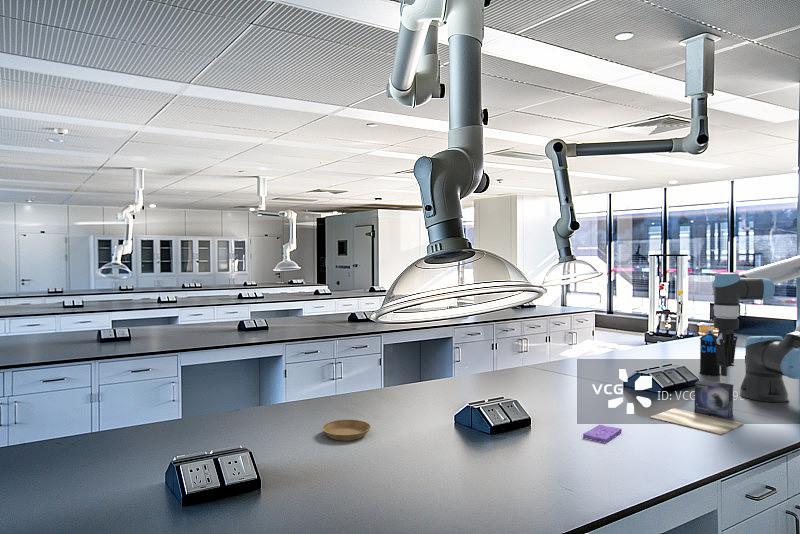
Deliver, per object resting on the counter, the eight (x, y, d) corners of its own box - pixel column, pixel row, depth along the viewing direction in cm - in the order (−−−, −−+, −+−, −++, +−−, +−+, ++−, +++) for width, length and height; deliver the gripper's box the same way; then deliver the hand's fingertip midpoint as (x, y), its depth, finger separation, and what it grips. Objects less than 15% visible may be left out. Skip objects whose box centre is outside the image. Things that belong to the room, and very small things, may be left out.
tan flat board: (674, 409, 194) (674, 408, 194) (743, 424, 176) (743, 423, 176) (650, 417, 184) (650, 416, 184) (721, 435, 167) (721, 433, 167)
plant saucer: (367, 426, 178) (367, 418, 178) (373, 441, 164) (373, 433, 164) (321, 429, 176) (321, 420, 176) (323, 445, 161) (322, 436, 161)
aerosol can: (700, 371, 253) (701, 327, 253) (721, 373, 248) (722, 328, 248) (698, 374, 247) (698, 329, 246) (719, 376, 242) (719, 331, 241)
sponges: (582, 439, 165) (582, 433, 165) (599, 429, 174) (599, 423, 174) (606, 445, 160) (606, 438, 160) (621, 434, 170) (622, 428, 170)
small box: (693, 413, 189) (693, 382, 189) (698, 409, 194) (699, 379, 193) (728, 419, 182) (729, 387, 181) (733, 415, 186) (733, 384, 186)
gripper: (723, 314, 199) (722, 380, 200) (706, 317, 192) (705, 385, 192) (746, 316, 193) (745, 384, 194) (729, 319, 186) (728, 389, 186)
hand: (725, 384), depth 193 cm, fingers closed
